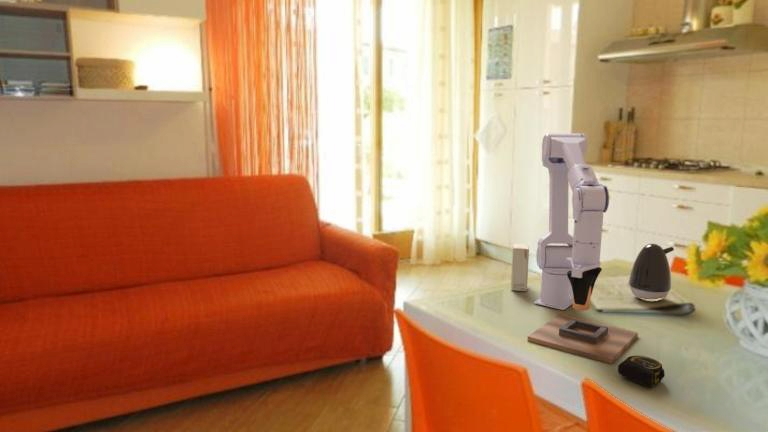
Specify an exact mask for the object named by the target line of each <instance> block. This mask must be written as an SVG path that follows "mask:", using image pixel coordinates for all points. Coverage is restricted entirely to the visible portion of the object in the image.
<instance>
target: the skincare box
mask: <svg viewBox="0 0 768 432" xmlns="http://www.w3.org/2000/svg"><path fill="white" fill-rule="evenodd" d="M529 253H530V247H529V245H528V244H525V243H513V244H512V257H511V258H512V259H511V279H510V289H511V291H515V292H516V291H519V292H527V291H528V278H529V277H528V275H529V261H530V260H529V259H530V258H529V257H530V254H529Z"/></svg>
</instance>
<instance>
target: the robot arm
mask: <svg viewBox="0 0 768 432" xmlns="http://www.w3.org/2000/svg"><path fill="white" fill-rule="evenodd" d="M587 149H588V137H587V136H586V135H585V133H583V132H579V133H569V132H568V133H565V132H564V133H558V132H556V133H555V132H554V133H553V132H552V133H551V132H546V133H545V134H544V135H543V138H542V142H541V162H542V167H545V168H547V169H548V175H549V185H548V186H549V187H548V188H549V193H548V194H549V196H548V197H549V198H548V200H549V202H548V208H549V209H548V216H549V217H548V232H547V233H546V234H545V235H543V236H541V237H540V238H539V239H538V241H537V249H536V254H535V255H536V256H535V257H536V265H537V267H538V268H539V269H540V270H541V271H542V272H541V284H540V285H541V288H540V297H539V298H538V299H536V300H535V301H534V303H533V304H536V305H540V306H542V307H543V306H544V307H549V308H552V309H556V310H561V311H564V310H566V309H568V308H570V307H571V305H572V306H573V297H574V302H575V304H579V305H585V304H586V301H587V297H588V293H589V289H590V286H591V296H592V294H593V290H594V287H595V284H596V281H597V279H598V276H599V275H600V274H601V272H602V270H603V269H602V267H601V259H600V258H601V249H602V238H603V237H602V235H603V222H604V213H606V212H607V211H608V209H609V206H610V205H609V204H610V193H609V188H608V186H607V185H606V184H603V183H599V181H598V178H597V176H596V174H595V171H594V169H593V168H592V166H590V165H589V164H586V160H585V156H586V153H587ZM569 187H570V190H571V192H572V196H571V204H572V219H573V220H574V222H573V234H572V235H571V234H570V233H569ZM550 244H552V245H550ZM553 244H555V245H553ZM556 244H564V245H556Z"/></svg>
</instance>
